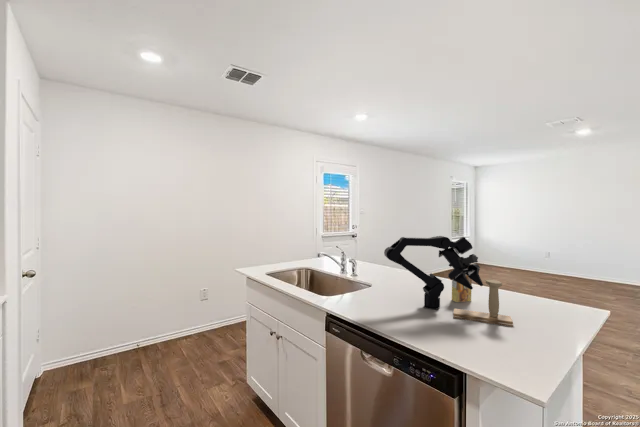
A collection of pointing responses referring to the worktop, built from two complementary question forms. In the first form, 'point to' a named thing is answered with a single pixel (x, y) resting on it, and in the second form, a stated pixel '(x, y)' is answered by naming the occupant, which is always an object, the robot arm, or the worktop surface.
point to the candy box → (461, 291)
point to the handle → (493, 297)
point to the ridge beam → (482, 317)
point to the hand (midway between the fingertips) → (477, 287)
